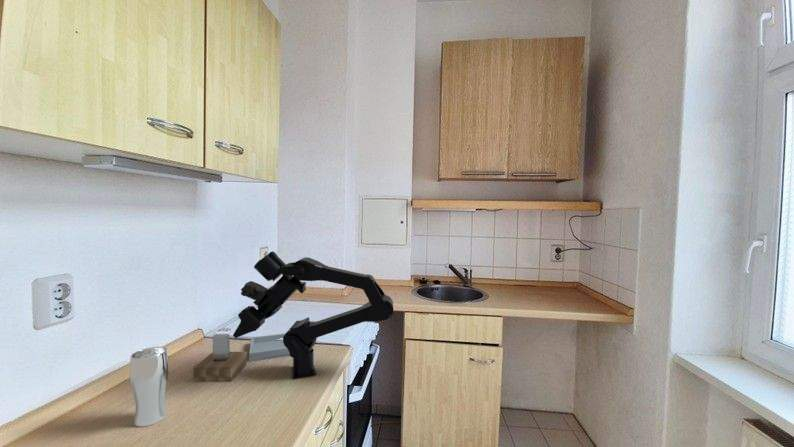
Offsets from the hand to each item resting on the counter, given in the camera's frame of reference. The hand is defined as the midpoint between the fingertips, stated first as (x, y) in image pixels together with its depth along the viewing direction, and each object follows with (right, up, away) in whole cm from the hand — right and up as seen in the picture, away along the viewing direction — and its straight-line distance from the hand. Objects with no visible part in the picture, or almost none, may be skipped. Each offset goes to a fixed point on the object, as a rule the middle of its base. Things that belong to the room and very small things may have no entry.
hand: (241, 330), depth 95 cm
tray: (+3, -12, +17) cm, 20 cm away
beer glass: (-11, -13, -21) cm, 27 cm away
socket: (-6, -12, 0) cm, 14 cm away
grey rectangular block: (-6, -12, 0) cm, 14 cm away
